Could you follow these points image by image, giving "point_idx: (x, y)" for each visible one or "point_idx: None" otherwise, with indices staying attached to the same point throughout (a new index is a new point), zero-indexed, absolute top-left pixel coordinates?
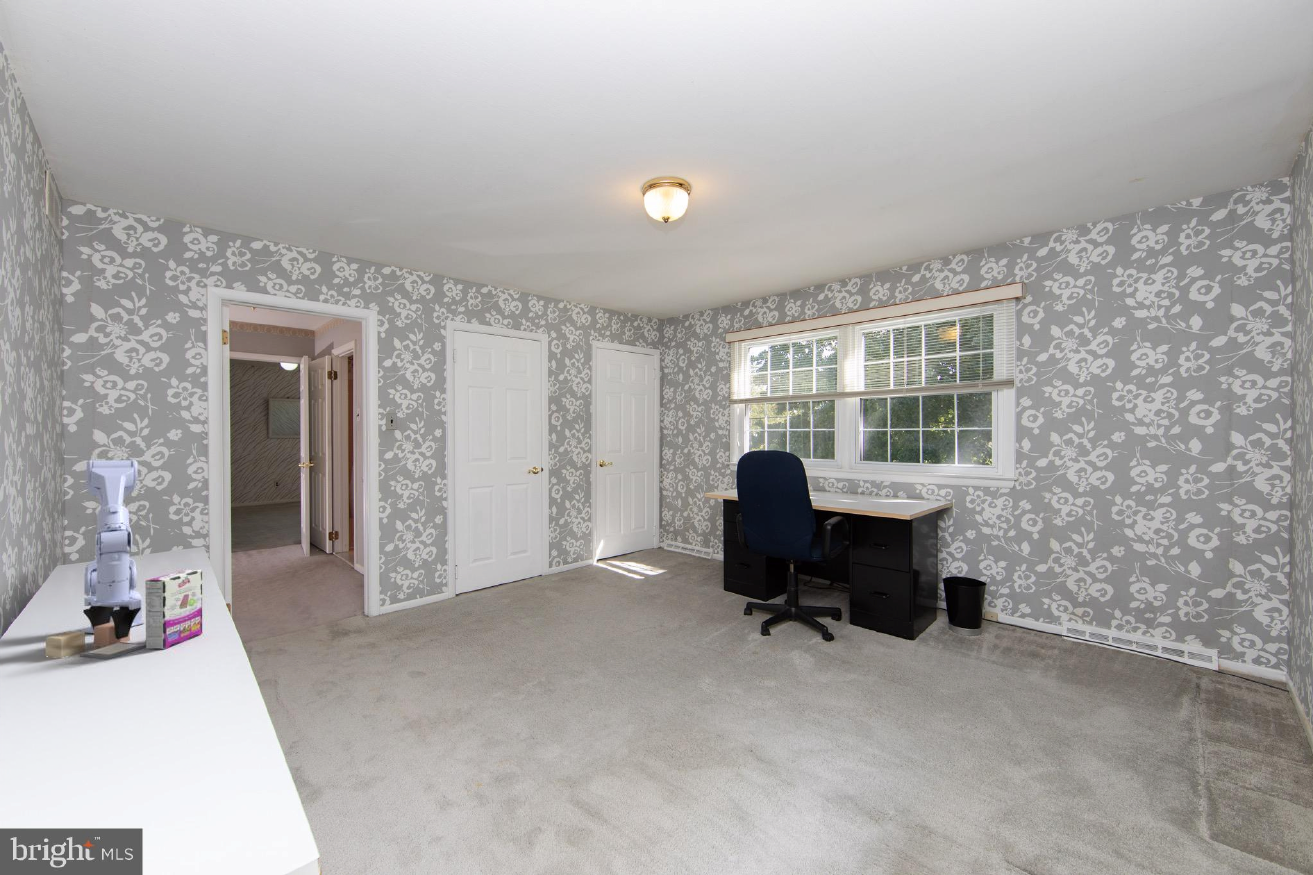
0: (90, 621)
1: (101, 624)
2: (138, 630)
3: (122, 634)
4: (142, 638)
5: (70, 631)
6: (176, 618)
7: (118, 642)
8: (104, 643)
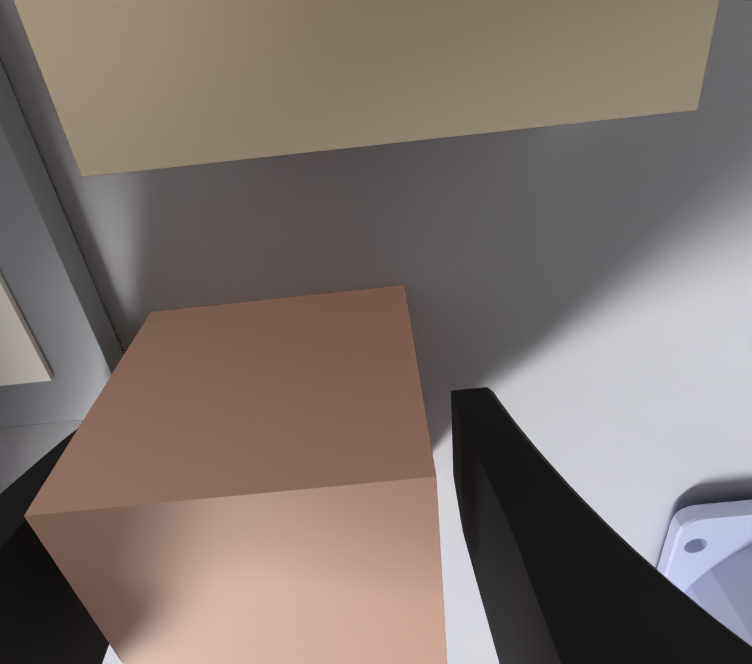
0: (644, 573)
1: (498, 575)
2: (484, 624)
3: None
4: None
5: (614, 76)
6: None
7: None
8: (216, 325)
